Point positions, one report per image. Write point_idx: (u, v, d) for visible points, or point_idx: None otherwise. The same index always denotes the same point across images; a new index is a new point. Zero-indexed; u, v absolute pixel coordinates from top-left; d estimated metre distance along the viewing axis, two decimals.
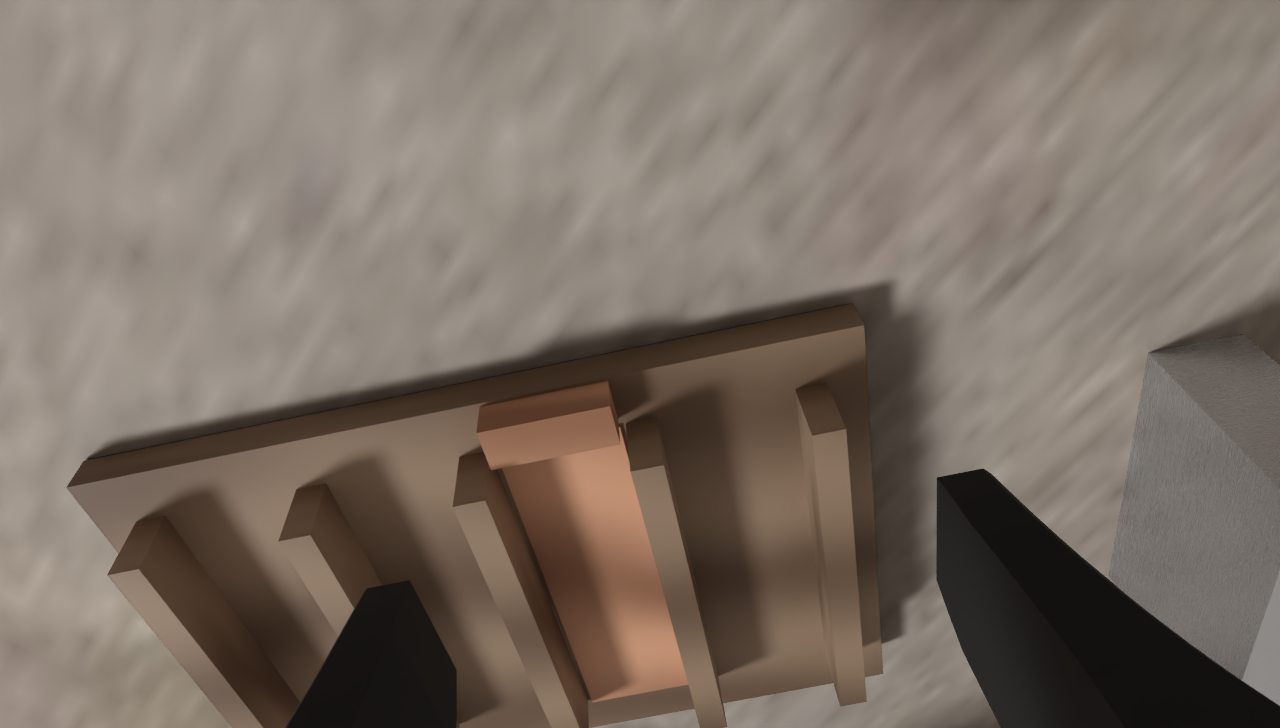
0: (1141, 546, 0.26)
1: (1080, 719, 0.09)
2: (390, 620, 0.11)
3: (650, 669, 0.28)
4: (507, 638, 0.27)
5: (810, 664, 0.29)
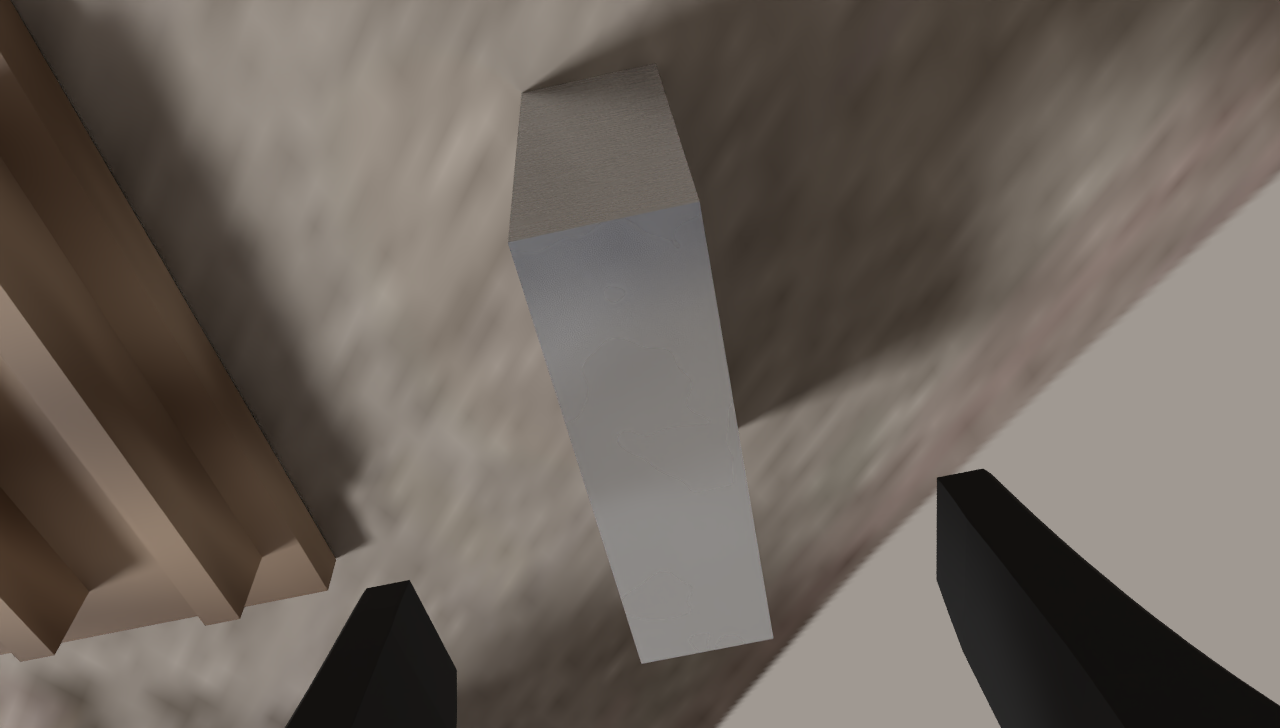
0: None
1: (1080, 719, 0.09)
2: (390, 620, 0.11)
3: None
4: None
5: None
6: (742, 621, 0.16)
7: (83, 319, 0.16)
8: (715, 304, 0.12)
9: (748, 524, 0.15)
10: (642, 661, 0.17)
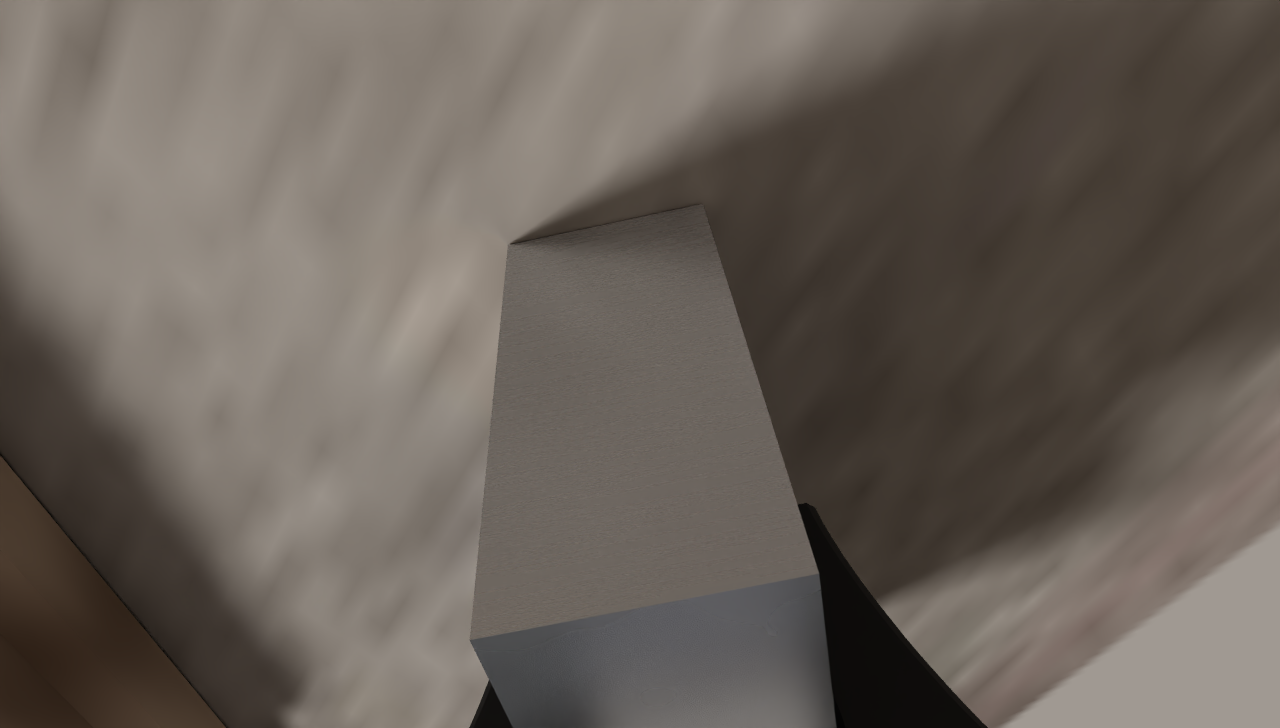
0: None
1: None
2: None
3: None
4: None
5: None
6: None
7: None
8: (830, 703, 0.07)
9: None
10: None
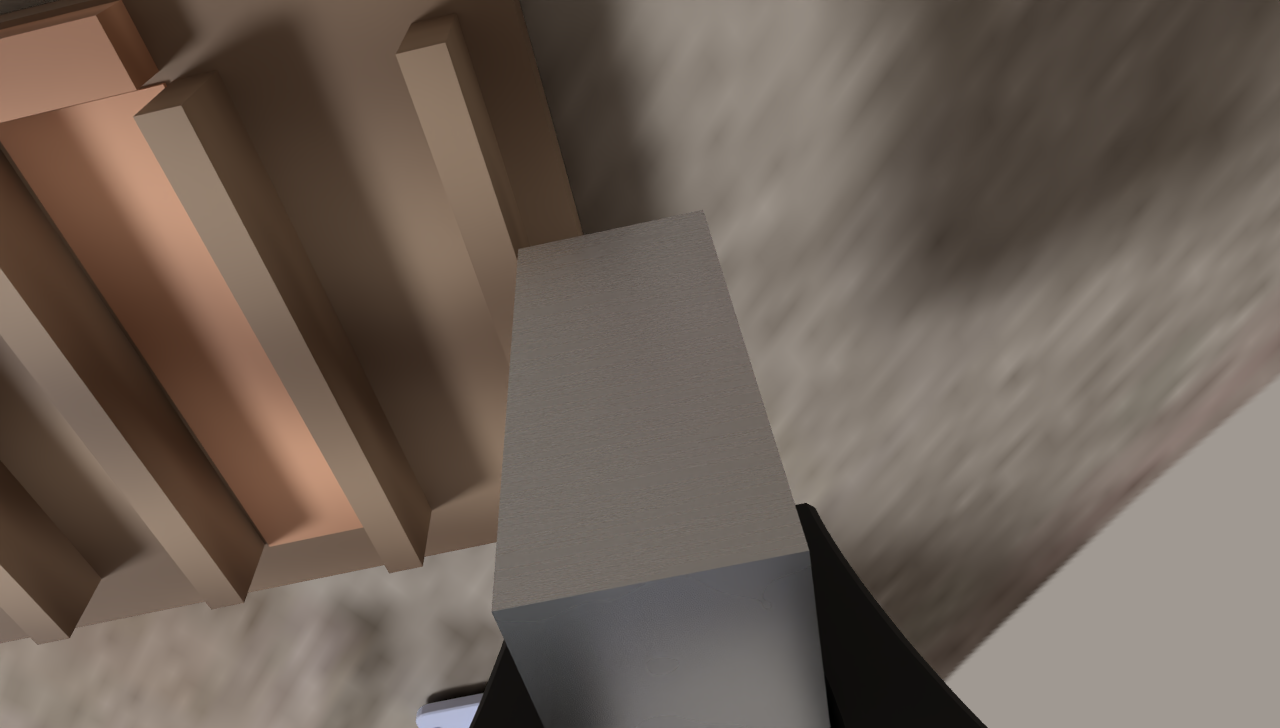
0: None
1: None
2: None
3: (333, 497, 0.21)
4: None
5: None
6: None
7: (518, 224, 0.17)
8: (821, 672, 0.08)
9: None
10: None
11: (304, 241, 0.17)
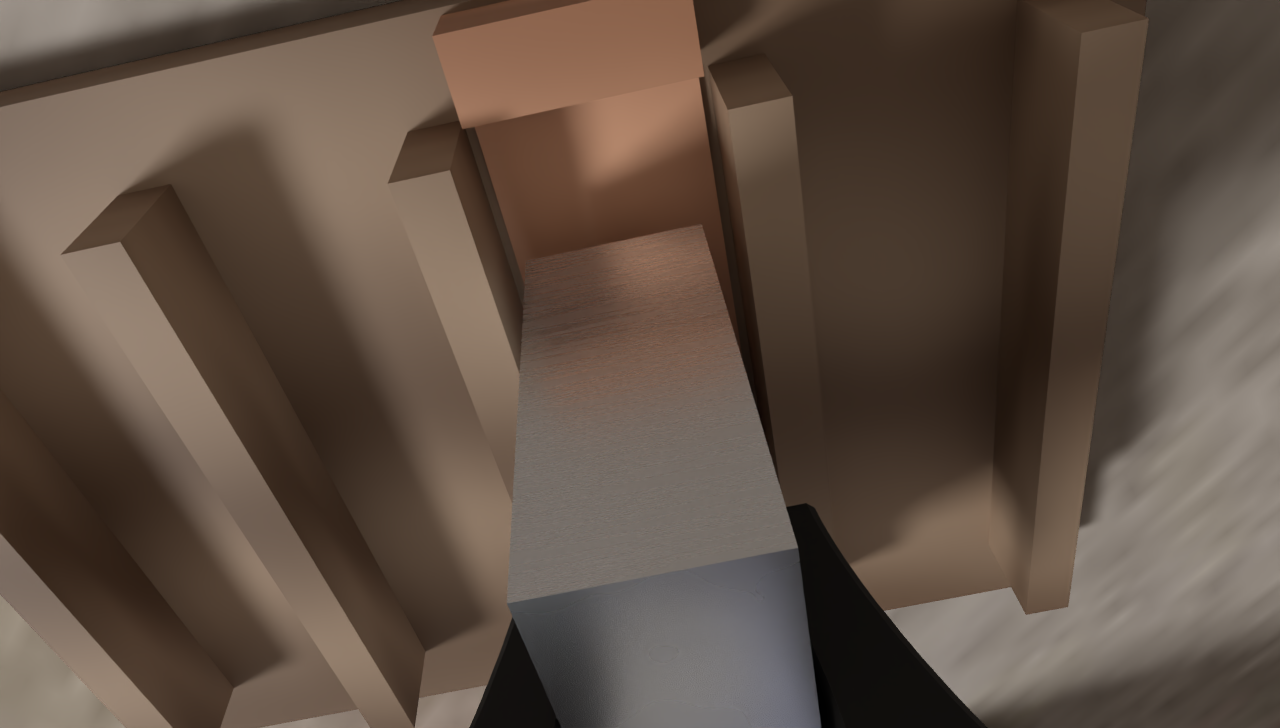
0: None
1: None
2: None
3: None
4: (498, 503, 0.17)
5: (963, 558, 0.19)
6: None
7: None
8: (810, 660, 0.08)
9: None
10: None
11: None
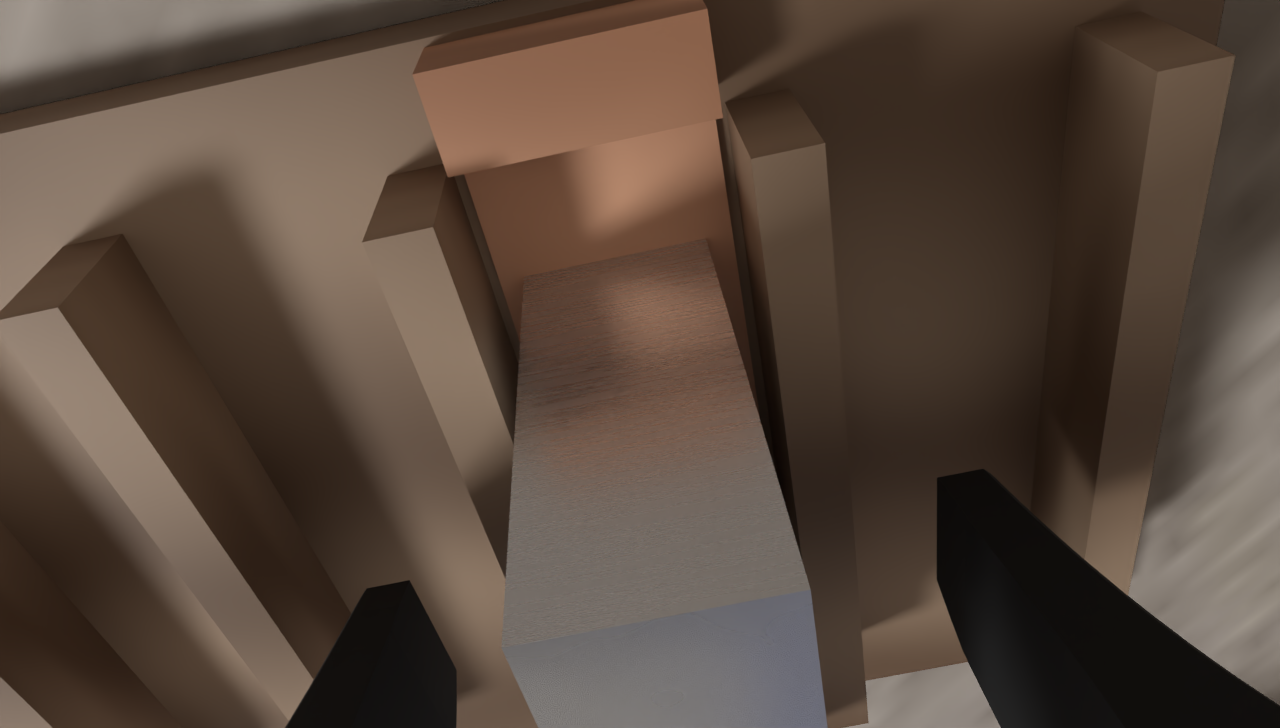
0: None
1: (1080, 719, 0.09)
2: (390, 620, 0.11)
3: None
4: (491, 567, 0.15)
5: None
6: None
7: None
8: (822, 704, 0.08)
9: None
10: None
11: None
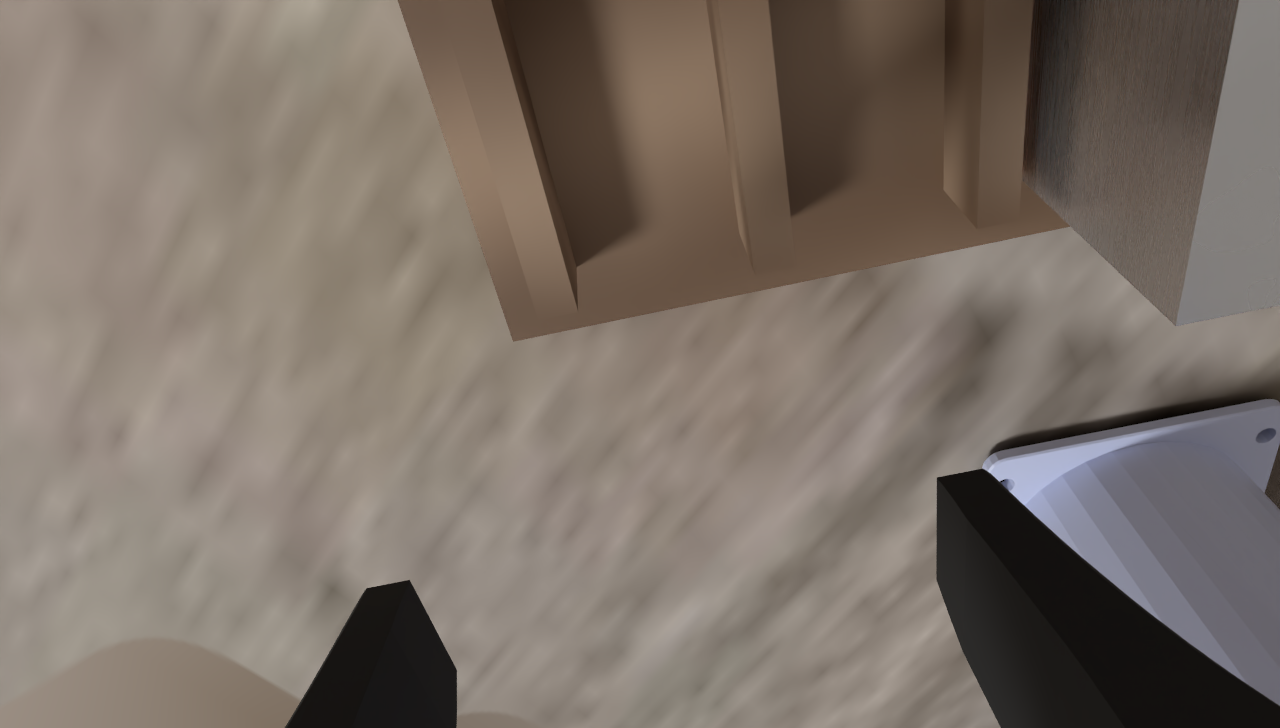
0: (1048, 51, 0.15)
1: (1080, 719, 0.09)
2: (390, 620, 0.11)
3: None
4: (901, 12, 0.16)
5: None
6: None
7: None
8: None
9: None
10: (1177, 322, 0.13)
11: None
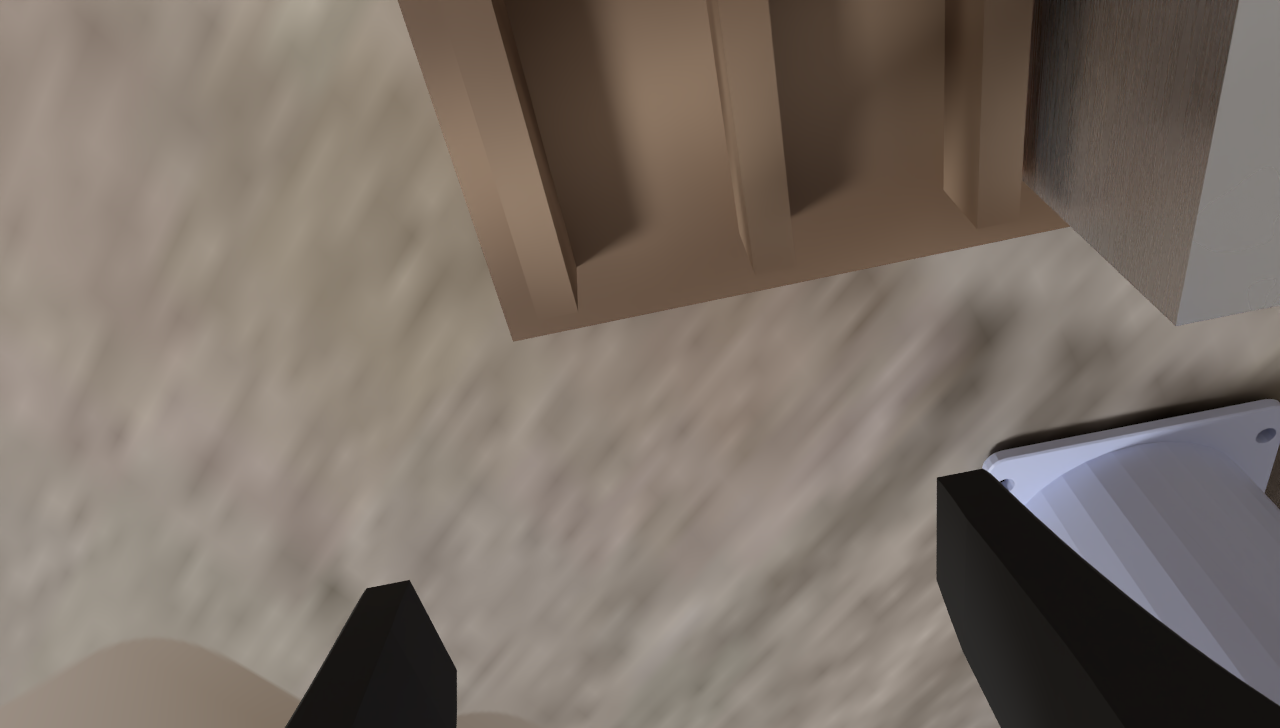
0: (1048, 51, 0.15)
1: (1080, 719, 0.09)
2: (390, 620, 0.11)
3: None
4: (901, 12, 0.16)
5: None
6: None
7: None
8: None
9: None
10: (1177, 322, 0.13)
11: None
